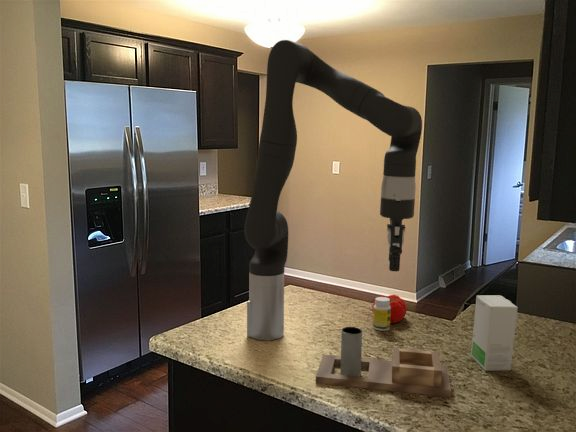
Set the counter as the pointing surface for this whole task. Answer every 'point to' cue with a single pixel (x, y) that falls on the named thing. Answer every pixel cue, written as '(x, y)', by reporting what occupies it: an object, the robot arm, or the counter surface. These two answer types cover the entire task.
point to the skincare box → (493, 332)
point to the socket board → (393, 373)
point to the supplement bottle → (382, 314)
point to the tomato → (396, 308)
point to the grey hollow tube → (351, 351)
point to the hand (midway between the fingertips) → (393, 266)
